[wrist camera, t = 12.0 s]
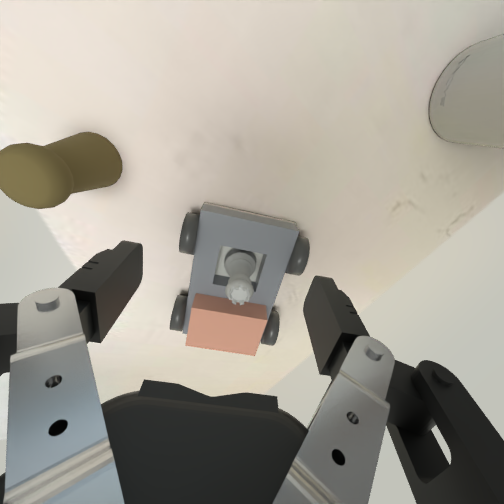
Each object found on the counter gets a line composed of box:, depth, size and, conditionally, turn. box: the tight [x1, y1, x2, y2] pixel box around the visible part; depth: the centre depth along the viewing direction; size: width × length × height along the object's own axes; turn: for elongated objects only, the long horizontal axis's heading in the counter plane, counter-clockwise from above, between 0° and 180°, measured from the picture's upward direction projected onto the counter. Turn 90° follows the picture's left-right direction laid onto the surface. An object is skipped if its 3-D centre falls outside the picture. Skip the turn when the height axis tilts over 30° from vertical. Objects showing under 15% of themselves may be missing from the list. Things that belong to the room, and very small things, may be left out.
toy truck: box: [170, 202, 310, 356], centre depth 34 cm, size 15×20×6 cm
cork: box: [0, 132, 122, 209], centre depth 24 cm, size 6×6×11 cm
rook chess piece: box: [224, 249, 257, 305], centre depth 31 cm, size 4×4×8 cm
